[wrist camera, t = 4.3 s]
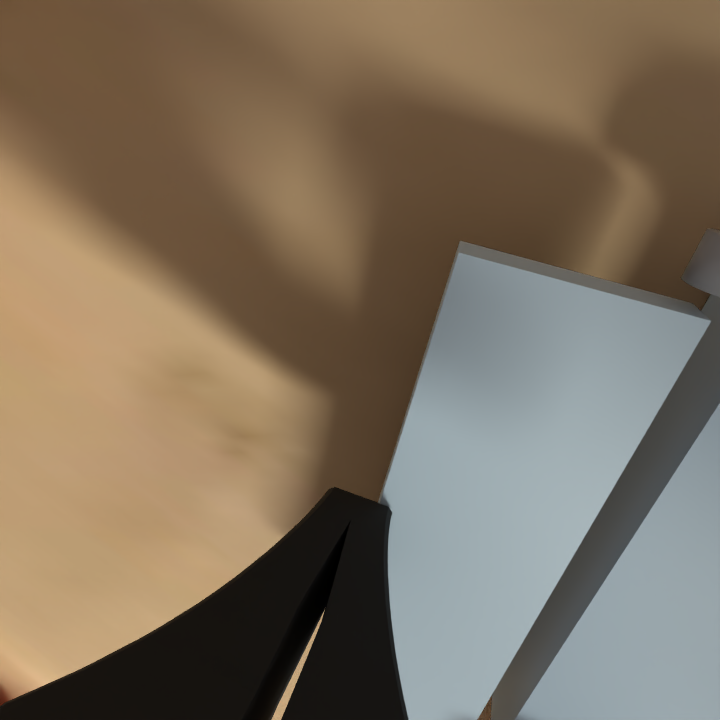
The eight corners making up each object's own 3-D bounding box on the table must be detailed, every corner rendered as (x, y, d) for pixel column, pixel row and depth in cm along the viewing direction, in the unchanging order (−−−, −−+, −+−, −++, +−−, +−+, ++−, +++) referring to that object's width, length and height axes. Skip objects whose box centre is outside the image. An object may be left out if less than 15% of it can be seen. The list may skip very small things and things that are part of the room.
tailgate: (711, 320, 8) (458, 252, 8) (459, 748, 14) (316, 701, 14) (688, 299, 9) (460, 237, 9) (460, 710, 15) (326, 665, 15)
